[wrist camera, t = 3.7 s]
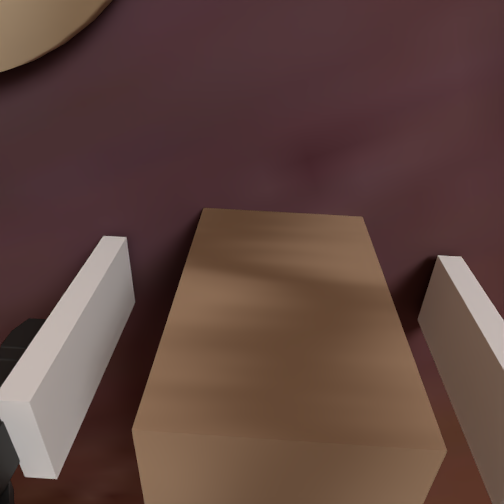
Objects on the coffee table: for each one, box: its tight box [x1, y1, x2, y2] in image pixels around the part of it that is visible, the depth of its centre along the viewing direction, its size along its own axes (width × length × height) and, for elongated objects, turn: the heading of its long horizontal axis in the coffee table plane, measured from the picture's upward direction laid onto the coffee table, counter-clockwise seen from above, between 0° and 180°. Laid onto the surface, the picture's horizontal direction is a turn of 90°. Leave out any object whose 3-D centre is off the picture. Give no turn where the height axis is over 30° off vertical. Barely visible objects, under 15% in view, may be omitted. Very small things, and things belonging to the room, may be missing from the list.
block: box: [132, 208, 447, 504], centre depth 12 cm, size 5×5×8 cm
